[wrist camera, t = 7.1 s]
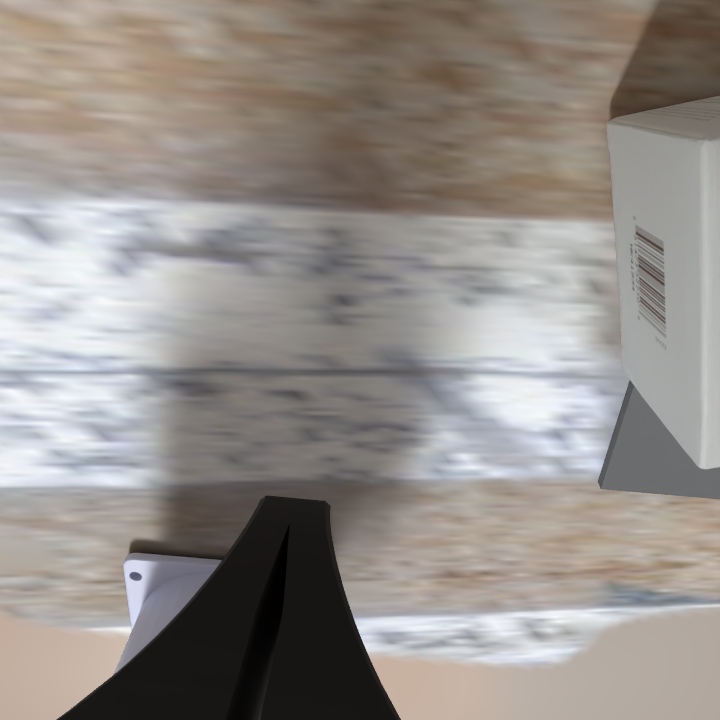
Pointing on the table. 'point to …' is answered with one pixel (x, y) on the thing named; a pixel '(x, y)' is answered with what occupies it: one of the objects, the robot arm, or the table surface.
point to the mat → (652, 457)
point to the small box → (671, 265)
